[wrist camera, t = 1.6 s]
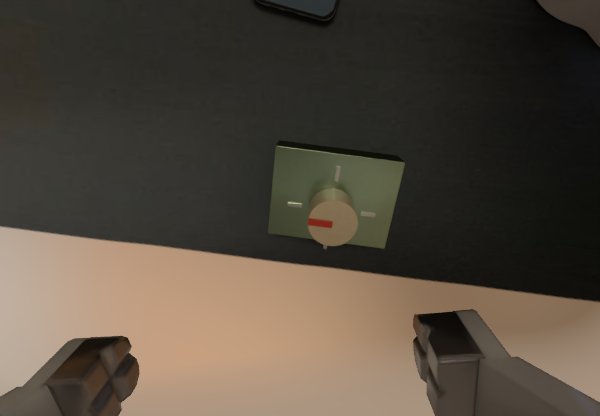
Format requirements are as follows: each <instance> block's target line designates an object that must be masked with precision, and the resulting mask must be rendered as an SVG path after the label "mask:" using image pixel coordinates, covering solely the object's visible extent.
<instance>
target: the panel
mask: <svg viewBox="0 0 600 416" xmlns="http://www.w3.org/2000/svg"><path fill="white" fill-rule="evenodd" d="M404 167H405V162H404V161H403V160H402V159H401V158H400V157H398V156H395V155H388V154H380V153H372V152H364V151H357V150H349V149H341V148H333V147H326V146H318V145H310V144H302V143H295V142H287V141H279V142H278V143H277V144H276V146H275V156H274V167H273V178H272V189H271V201H270V212H269V223H268V233H269V234H277V235H284V236H292V237H299V238H307V239H314V238H313V237H312V236H311V234H310V232H309V230H308V211H309V204H310V201H311V200H312V198H313V197H314V196H315V195H316V194H317V193H318V192H320V191H322V190H324V189H329V188H334V189H339V190H342V191H344V192H345V193H346V194H348V195H349V197H350V198H351V199H352V201H353V204H354V208H355V211H356V214H357V217H358V228H357V231H356V233H355V235H354V236H353V237H352V238H351V239H350V240H349V241H348V242H346V243H345V244H352V245H360V246H368V247H375V248H383V249H384V248H385V244H386V240H387V236H388V232H389V228H390V224H391V220H392V216H393V212H394V208H395V203H396V199H397V195H398V191H399V187H400V183H401V179H402V175H403V171H404ZM314 240H315V239H314ZM323 249H327V245H323Z"/></svg>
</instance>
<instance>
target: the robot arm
mask: <svg viewBox="0 0 600 416" xmlns="http://www.w3.org/2000/svg"><path fill="white" fill-rule="evenodd" d="M537 2H538V3H539V4H540V5H541V6H542V7H543V8H544V9H545V10H546V11H547V12H548V13H549V14H551V15H552V16H554V17H555V18H557V19H559V20H561V21H563V22H566V23H568V24H571V25H574V26H577V27H579V28H581V29H583V30H585V31H586V32H587V33H588V34H589V36H590V37H591V38H592V39H593V40H594V42H595V43H596V44H597V45H598V46H599V47H600V0H537ZM413 327H414V329H415V332H416V335H417V337H416V338H415V339H414V341H413V342H414V355H415V361H416V365H417V368H418V372H419V375H420V377H421V379H422V380H424V381H425V382H426V383H427V396H428V398H429V401H430V404H431V406H432V409H433V411H434V414H435V416H600V402H598V401H596V400H594V399H592V398H591V397H589V396H587V395H585V394H584V393H582V392H580V391H578V390H576V389H574V388H573V387H571V386H569V385H567V384H566V383H564V382H562V381H560V380H558V379H557V378H555V377H553V376H551V375H549V374H548V373H546V372H544V371H542V370H541V369H539V368H537V367H535V366H533V365H531V364H530V363H528V362H526V361H524V360H523V359H521V358H519V357H511V356H510V355H509V354H508V352H507V351H506V350H505V348H504V347H503V346H502V345H501V343H500V342H499V341H498V339H497V338H496V337H495V335H494V334H493V333H492V331H491V330H490V329H489V327H488V326H487V325H486V323H485V322H484V321H483V319H482V318H481V317H480V315H479V314H478V313H477V312H476V311H475V310H473V309H471V310H461V311H453V312H444V313H430V314H418V315H414V319H413ZM130 349H131V344H130V342H129V340H128V338H127V337H123V336H112V337H91V338H76V339H73V340H70V341H68V342H67V343H66V344H65V345H64V346H63V347H62V348H61V349H60V350H59V351H58V352H57V353H56V354H55V355H54V356H53V357H52V358H51V359H50V360H49V361H48V362H47V363H46V364H45V365H44V366H43V367H42V368H41V369H40V370H39V371H38V372H37V373H36V374H35V375H34V376H33V377H32V378H31V379H30V380H29V381H28V382H27V383H26V384H25V385H24V386H23V387H16V388H15V389H13V390H11V391H9V392H8V393H6V394H4V395H3V396H1V397H0V416H118V415H119V413H120V412H121V402H122V401H124V400H125V399H126V398H127V397H129V396H130V395H131V394H132V392H133V390H134V389H135V387H136V385H137V381H138V377H139V365H138V362H137V359H136V358H135V357H133V356H132V355H131V354H130V353H129V351H130Z"/></svg>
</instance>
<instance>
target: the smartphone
mask: <svg viewBox="0 0 600 416" xmlns="http://www.w3.org/2000/svg"><path fill="white" fill-rule="evenodd" d="M256 1H257V2H259V3H260V4H263V5H266V6H270V7H274V8H277V9H281V10H284V11H288V12H291V13H295V14H299V15H302V16H306V17H309V18H313V19H316V20H320V21H327V20H329V19H331V18H332V17H333V16H334V14H335V12H336V8H337V4H338V0H256Z"/></svg>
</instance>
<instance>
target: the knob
mask: <svg viewBox="0 0 600 416" xmlns="http://www.w3.org/2000/svg"><path fill="white" fill-rule="evenodd" d="M357 228H358V217H357V214H356V211H355V208H354V204H353V201H352V199H351V198H350V197H349V195H348V194H346V193H345V192H344V191H342V190H339V189H334V188H329V189H324V190H322V191H320V192H318V193H317V194H316V195H315V196H314V197H313V198H312V200H311V201H310V204H309V211H308V230H309V232H310V234H311V236H312V237H313V238H314V239H315V240H316V241H317V242H319V243H321V244H323V245H327V246H339V245H342V244H344V243H346V242H348V241H349V240H350V239H351V238H352V237H353V236H354V235H355V233H356V231H357Z"/></svg>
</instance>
